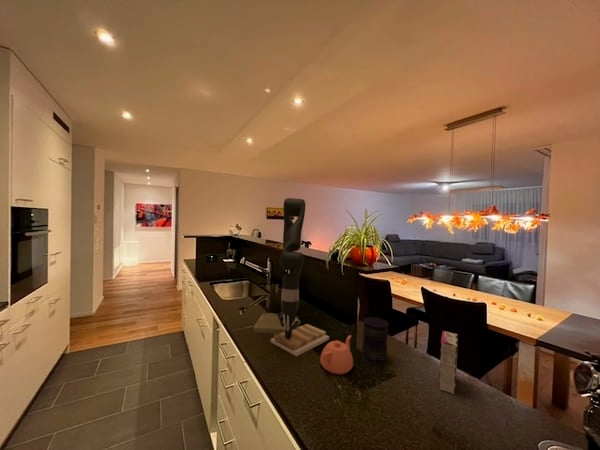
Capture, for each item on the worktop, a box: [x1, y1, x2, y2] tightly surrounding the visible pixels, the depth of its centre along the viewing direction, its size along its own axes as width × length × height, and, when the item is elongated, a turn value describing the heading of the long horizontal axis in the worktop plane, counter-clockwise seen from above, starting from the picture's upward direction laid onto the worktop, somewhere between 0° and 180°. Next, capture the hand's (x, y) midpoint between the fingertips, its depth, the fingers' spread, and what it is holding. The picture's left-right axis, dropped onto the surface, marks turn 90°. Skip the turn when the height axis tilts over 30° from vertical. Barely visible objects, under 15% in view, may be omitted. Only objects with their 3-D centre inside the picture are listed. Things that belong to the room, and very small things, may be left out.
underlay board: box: [270, 334, 330, 357], centre depth 116 cm, size 22×16×2 cm
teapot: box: [319, 334, 354, 375], centre depth 98 cm, size 12×18×10 cm
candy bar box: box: [438, 330, 459, 395], centre depth 89 cm, size 11×5×16 cm, turn 148°
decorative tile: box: [252, 312, 285, 335], centre depth 132 cm, size 19×20×4 cm
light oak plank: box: [297, 323, 327, 339], centre depth 122 cm, size 7×12×2 cm, turn 47°
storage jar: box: [361, 316, 389, 365], centre depth 105 cm, size 10×10×15 cm
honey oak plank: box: [273, 327, 317, 349], centre depth 114 cm, size 15×12×2 cm
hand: (288, 338), depth 110 cm, fingers closed
